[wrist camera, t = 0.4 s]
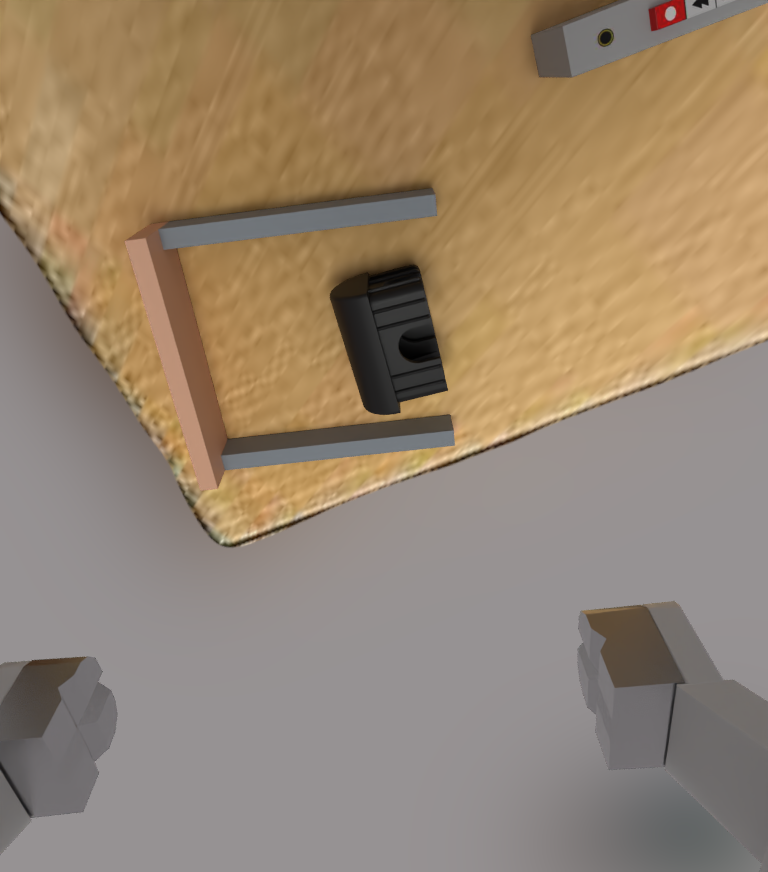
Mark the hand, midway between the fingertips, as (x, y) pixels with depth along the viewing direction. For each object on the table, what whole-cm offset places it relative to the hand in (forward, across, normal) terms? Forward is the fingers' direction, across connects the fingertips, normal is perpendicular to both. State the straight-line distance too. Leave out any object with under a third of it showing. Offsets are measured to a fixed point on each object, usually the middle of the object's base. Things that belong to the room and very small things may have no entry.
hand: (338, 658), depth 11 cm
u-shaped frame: (+45, +6, +10) cm, 46 cm away
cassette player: (+45, -20, -10) cm, 51 cm away
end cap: (+45, 0, +10) cm, 46 cm away
